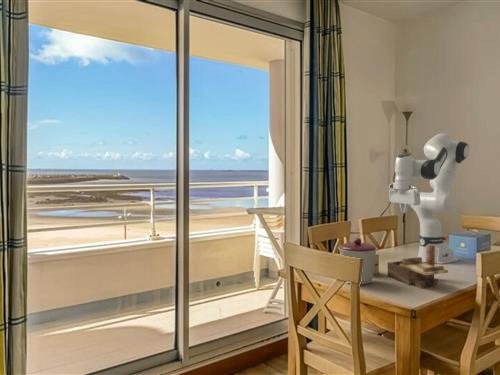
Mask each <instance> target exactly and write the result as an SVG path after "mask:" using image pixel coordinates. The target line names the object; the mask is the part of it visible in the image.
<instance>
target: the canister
mask: <svg viewBox="0 0 500 375" xmlns="http://www.w3.org/2000/svg"><path fill="white" fill-rule="evenodd" d="M337 249H338V250H339V256H340V255H344V256H349V257H355V258H361V259H363V272H362V281H361V285H362V286H363V285H368V284H370V283H371V282H372V281H373V278H374V275H373V273H374V266H375V257H376V254H377V251H378V247H377V246H375V245H373V244H371V243H365V242H362V239H361V238H359V237H356V238H354V239H353V242H346V243H343V244H341V245H339V246H338V248H337ZM361 285H360V286H361Z"/></svg>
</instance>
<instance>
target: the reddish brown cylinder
mask: <svg viewBox="0 0 500 375" xmlns="http://www.w3.org/2000/svg"><path fill="white" fill-rule="evenodd" d="M425 263H426V264H429V265H432V266H435V264H436V263H435V246H432V245H427V246H426V262H425ZM431 278H434V279H435V274H432V275H431Z"/></svg>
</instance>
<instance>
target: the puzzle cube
mask: <svg viewBox="0 0 500 375" xmlns="http://www.w3.org/2000/svg"><path fill="white" fill-rule="evenodd" d="M379 263H380V254H378V253H376V257H375V266H374V273H373V276H376V275H377V274H379V273H380V267H379V266H380V264H379Z"/></svg>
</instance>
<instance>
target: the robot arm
mask: <svg viewBox="0 0 500 375" xmlns="http://www.w3.org/2000/svg"><path fill="white" fill-rule="evenodd" d="M423 153H424V155H425V157H426V158H427V159H414V158H413V155H412V154H411V153H401V154H399V155H397V156H396V158H395V164H394V172H395V178H394V182H392V183H390V184H388V188H389V191H388V200H389V203H392V204H393V203H394V204H399V208H400V213H402V214H407V213H408V211H409V208H412V210H413V211H414V212H415V213H416V215H417V217H418V221H419V237H418V239H419V240H418V241H419V248H418V249H419V250H418V254H417V257H421V258H422V262H423V263H426V246H427V245H432V246H435V264H440V265H443V264H450V263H454V262H457V261H459V258H457V257H456V256H454V255H455V254H454V250H453V248H452V247H450V246H449V245H447V244H446V243H445V242H446V241H448V237H447V236H442V223H441V221H440V220H439V219H438V218H436V217H435V214H434V213H440V214H441V213H450V212H452V210H453V209H454V208H455V207H454V206H455V201H454V197H453V196H452V195H451V194H450V188H451V185H452V183H453V181H454V178H455V177H456V174H457V171H458V164H461V163H462V162H463V161H465V160H466V159H467V158H468V156H469V155H470V154H469V153H470V146H469V144H468V143H467V142H465V141H457V140H453V139H452V137H451V135H450V134H448V133H446V132H441V133H438V134H436V135H434V136H433V137H431V138H430V139H429V140H428V141H427V142H426V143H425V144H424V146H423ZM415 179H417V180H418V179H419V180H420V179H421V180H429V185H430V188H432V190H433V191H432V192H425V191H420V189H419V188H418V187H417V186H414V180H415Z"/></svg>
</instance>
